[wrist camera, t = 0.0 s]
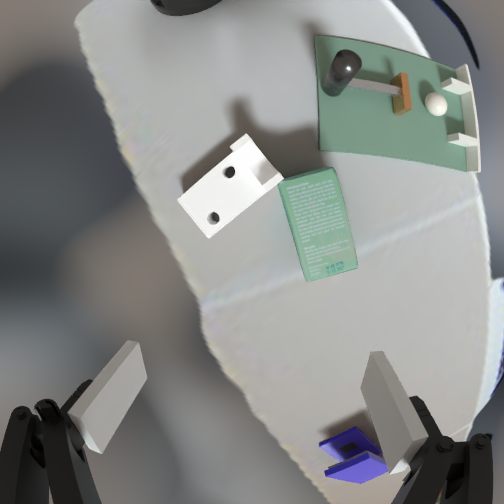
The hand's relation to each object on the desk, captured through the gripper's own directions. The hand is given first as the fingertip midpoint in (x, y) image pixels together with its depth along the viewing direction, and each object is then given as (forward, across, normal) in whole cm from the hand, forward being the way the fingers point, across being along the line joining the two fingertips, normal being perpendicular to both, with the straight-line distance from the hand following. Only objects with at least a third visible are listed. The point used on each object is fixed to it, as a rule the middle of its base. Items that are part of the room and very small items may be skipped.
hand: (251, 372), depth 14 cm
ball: (+25, +27, +25) cm, 45 cm away
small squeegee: (+27, +14, +25) cm, 40 cm away
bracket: (+28, -5, +9) cm, 30 cm away
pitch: (+28, +22, +25) cm, 43 cm away
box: (+28, +7, +5) cm, 30 cm away
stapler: (+29, +27, -55) cm, 67 cm away
